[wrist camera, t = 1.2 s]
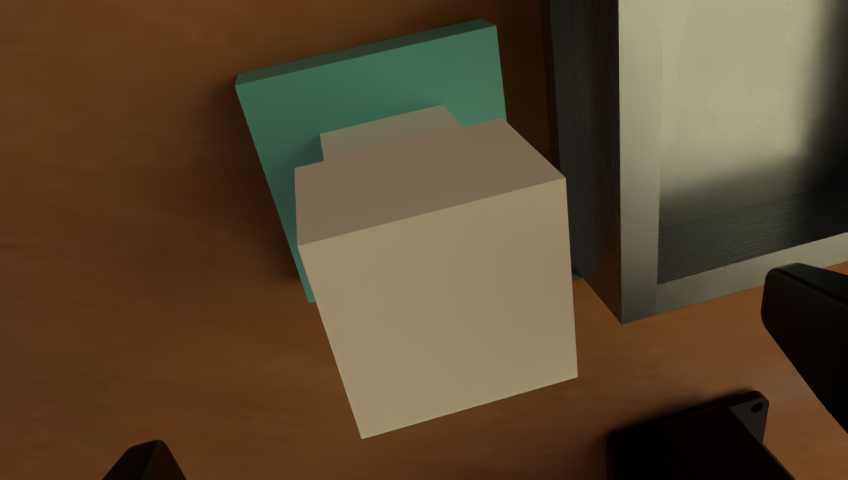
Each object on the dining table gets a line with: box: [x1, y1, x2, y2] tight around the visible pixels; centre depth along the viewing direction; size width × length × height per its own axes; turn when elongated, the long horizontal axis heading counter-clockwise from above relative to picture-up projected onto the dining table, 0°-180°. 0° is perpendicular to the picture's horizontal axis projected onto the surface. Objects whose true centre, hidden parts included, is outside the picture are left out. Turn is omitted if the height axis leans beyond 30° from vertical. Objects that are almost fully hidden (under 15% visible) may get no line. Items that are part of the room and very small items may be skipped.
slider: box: [235, 18, 578, 439], centre depth 13 cm, size 6×6×7 cm
